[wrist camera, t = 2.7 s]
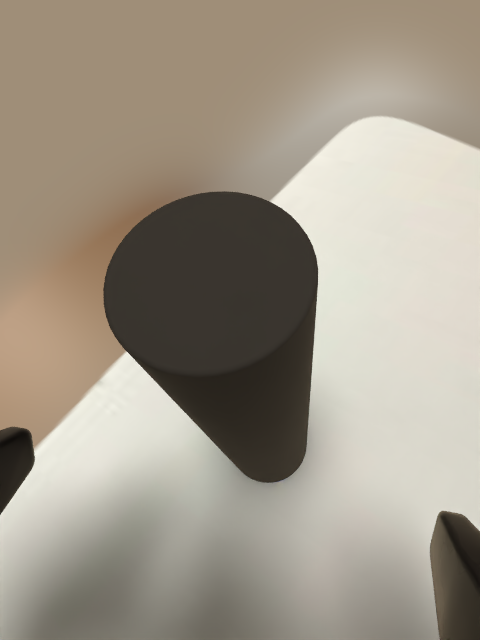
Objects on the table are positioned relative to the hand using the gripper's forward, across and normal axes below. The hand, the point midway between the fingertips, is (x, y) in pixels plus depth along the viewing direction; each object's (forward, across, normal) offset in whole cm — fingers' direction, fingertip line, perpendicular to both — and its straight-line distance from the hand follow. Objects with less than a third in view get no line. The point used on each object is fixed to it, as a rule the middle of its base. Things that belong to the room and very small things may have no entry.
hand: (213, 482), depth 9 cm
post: (+9, 0, +5) cm, 10 cm away
